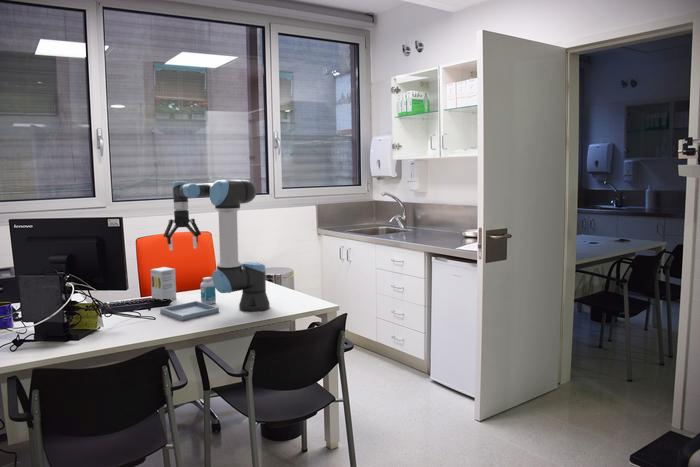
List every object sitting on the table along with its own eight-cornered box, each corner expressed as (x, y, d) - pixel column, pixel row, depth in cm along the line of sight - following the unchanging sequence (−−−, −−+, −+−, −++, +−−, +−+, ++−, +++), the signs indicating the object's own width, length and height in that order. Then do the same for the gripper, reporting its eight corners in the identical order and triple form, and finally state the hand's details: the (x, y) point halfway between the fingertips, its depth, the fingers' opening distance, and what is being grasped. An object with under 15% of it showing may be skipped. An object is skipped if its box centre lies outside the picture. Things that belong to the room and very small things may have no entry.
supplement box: (151, 300, 289) (149, 269, 287) (165, 296, 297) (164, 266, 295) (162, 302, 284) (160, 271, 282) (177, 299, 291) (175, 268, 289)
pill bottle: (217, 301, 286) (217, 276, 285) (212, 305, 279) (212, 279, 277) (204, 301, 287) (203, 276, 285) (198, 304, 280) (198, 279, 278)
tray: (218, 312, 265) (218, 307, 264) (182, 321, 250) (181, 315, 250) (196, 305, 278) (196, 300, 278) (160, 313, 263) (160, 308, 263)
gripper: (199, 209, 303) (201, 247, 304) (155, 211, 287) (158, 250, 287) (205, 209, 298) (207, 247, 298) (161, 210, 281) (163, 251, 282)
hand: (183, 249), depth 293 cm, fingers open, 13 cm apart
